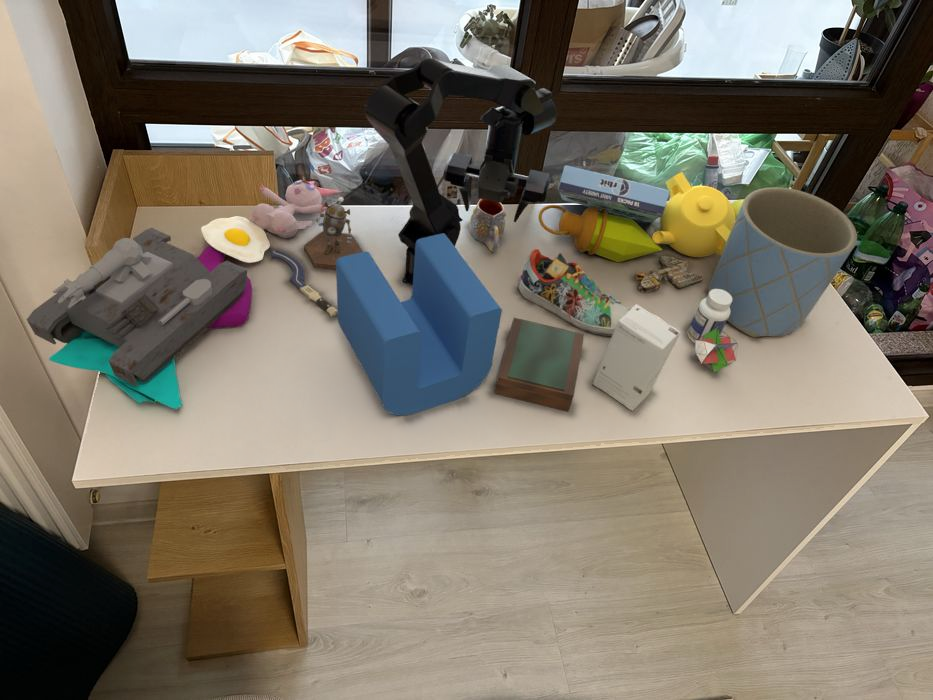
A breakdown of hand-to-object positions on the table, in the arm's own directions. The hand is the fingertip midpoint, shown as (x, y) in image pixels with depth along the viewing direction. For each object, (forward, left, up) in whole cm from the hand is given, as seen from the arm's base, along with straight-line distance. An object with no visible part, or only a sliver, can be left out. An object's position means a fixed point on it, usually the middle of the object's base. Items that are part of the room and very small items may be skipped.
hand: (491, 215), depth 138 cm
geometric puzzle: (+46, -16, -2) cm, 48 cm away
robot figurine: (-26, -13, -6) cm, 30 cm away
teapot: (+38, +15, -4) cm, 41 cm away
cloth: (-46, -49, -4) cm, 67 cm away
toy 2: (-39, -15, -3) cm, 42 cm away
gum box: (+22, +21, -4) cm, 31 cm away
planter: (+52, -1, -6) cm, 52 cm away
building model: (+35, +1, -6) cm, 36 cm away
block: (-5, -36, -6) cm, 37 cm away
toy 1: (-47, -41, -4) cm, 62 cm away
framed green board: (+15, -30, -6) cm, 35 cm away
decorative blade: (-27, -20, -6) cm, 34 cm away
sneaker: (+19, -14, -6) cm, 24 cm away
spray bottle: (-42, -27, -6) cm, 50 cm away
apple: (+49, +20, -6) cm, 53 cm away
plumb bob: (+21, +5, -6) cm, 22 cm away
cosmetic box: (+29, -30, -6) cm, 42 cm away
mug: (0, 0, -6) cm, 6 cm away
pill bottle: (+42, -13, -6) cm, 44 cm away
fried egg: (-42, -18, -4) cm, 46 cm away
